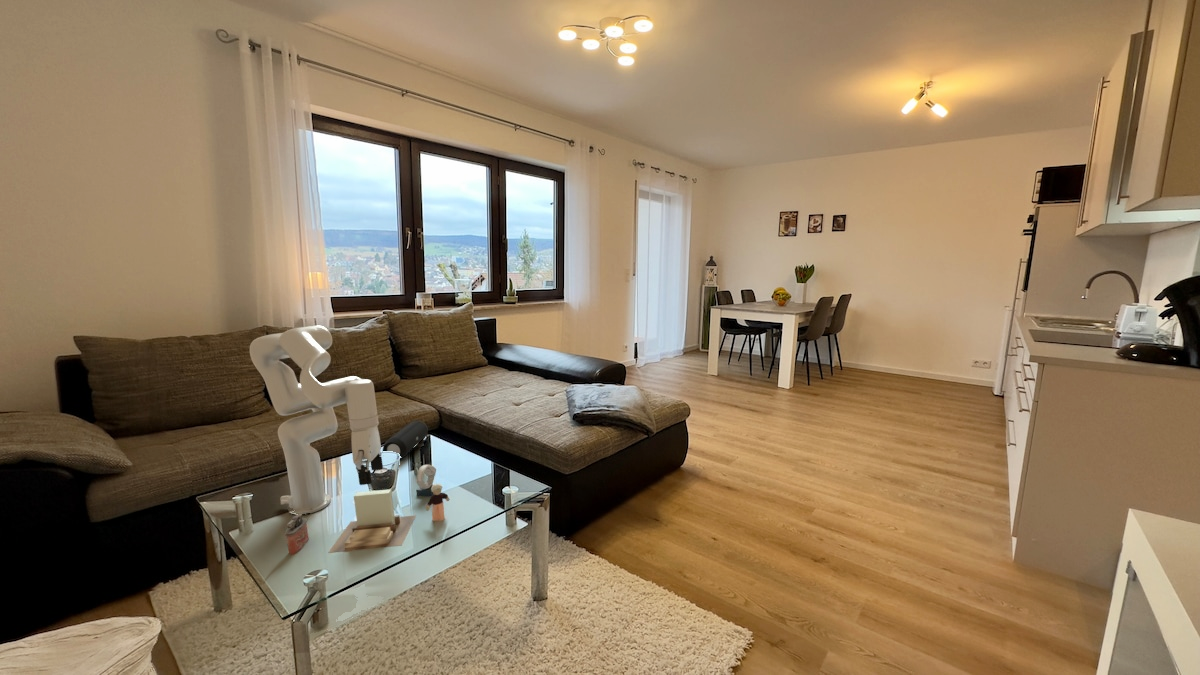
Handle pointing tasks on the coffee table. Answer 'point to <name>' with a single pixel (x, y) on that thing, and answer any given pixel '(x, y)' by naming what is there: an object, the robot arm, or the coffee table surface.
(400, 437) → the portable speaker
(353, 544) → the lower birch offcut
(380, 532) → the upper birch offcut
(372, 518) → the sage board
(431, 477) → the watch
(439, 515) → the grandmother figurine
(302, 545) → the lighter
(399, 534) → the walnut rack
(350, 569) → the coffee table surface
